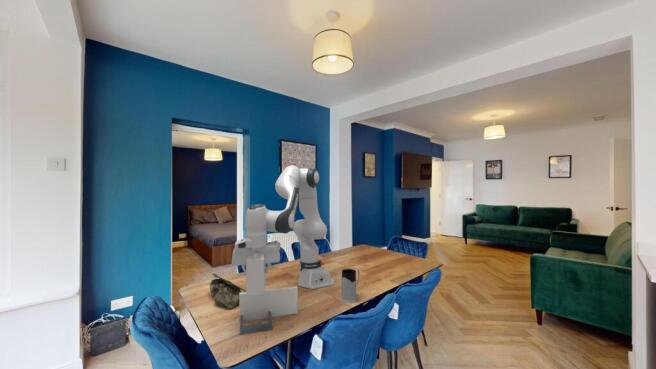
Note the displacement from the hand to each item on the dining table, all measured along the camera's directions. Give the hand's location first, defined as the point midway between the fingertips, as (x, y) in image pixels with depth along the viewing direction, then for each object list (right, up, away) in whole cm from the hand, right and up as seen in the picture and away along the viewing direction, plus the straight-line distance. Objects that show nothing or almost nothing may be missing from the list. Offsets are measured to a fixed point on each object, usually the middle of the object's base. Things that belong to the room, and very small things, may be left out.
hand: (256, 273), depth 115 cm
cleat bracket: (0, -22, -1) cm, 22 cm away
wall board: (+4, -22, +7) cm, 23 cm away
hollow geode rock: (-23, -22, +25) cm, 41 cm away
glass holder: (+44, -22, +27) cm, 56 cm away
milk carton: (0, -8, 0) cm, 8 cm away
